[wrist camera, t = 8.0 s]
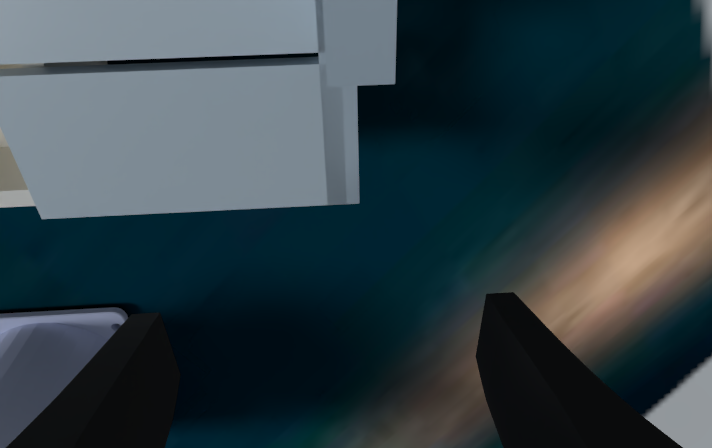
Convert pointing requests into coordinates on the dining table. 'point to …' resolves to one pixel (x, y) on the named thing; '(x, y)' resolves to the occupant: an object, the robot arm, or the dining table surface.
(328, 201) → the lid
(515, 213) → the dining table surface
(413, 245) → the dining table surface
